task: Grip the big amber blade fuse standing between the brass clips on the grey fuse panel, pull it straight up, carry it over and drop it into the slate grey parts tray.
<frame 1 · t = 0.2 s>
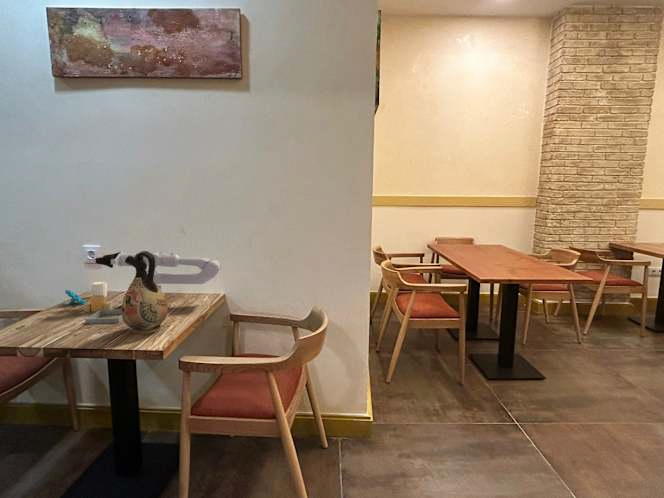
hand: (99, 259, 175), 21 cm above the table, tool horizontal, fingers open, 7 cm apart
parts tray: (109, 320, 160), on the table
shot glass: (100, 297, 194), on the table
fuse panel: (98, 311, 170), on the table
gear: (76, 306, 179), on the table
ceramic jug: (147, 331, 148), on the table
fuse: (98, 309, 170), point 1 cm above the table, touching fuse panel
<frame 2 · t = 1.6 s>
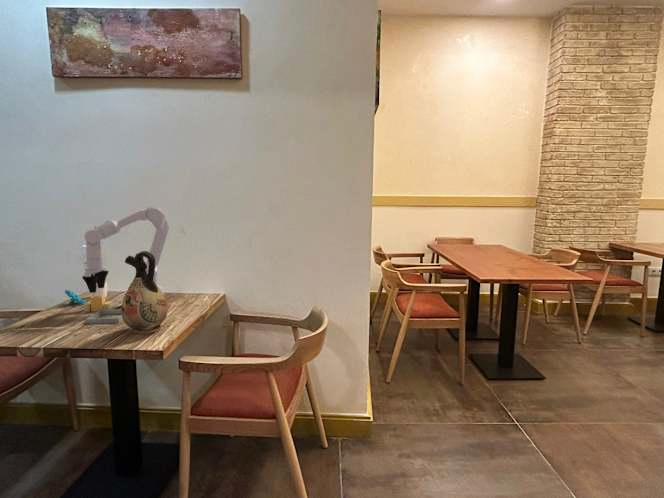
hand: (97, 290, 169), 9 cm above the table, tool pointing down, fingers open, 7 cm apart
nothing on the table moved.
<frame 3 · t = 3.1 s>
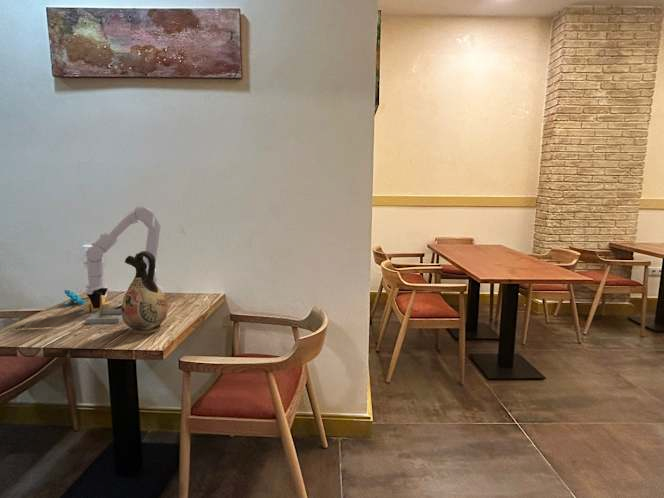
hand: (98, 306, 170), 2 cm above the table, tool pointing down, fingers closed on fuse, 3 cm apart
fuse: (98, 309, 170), point 1 cm above the table, touching fuse panel, gripper
everything else where it was.
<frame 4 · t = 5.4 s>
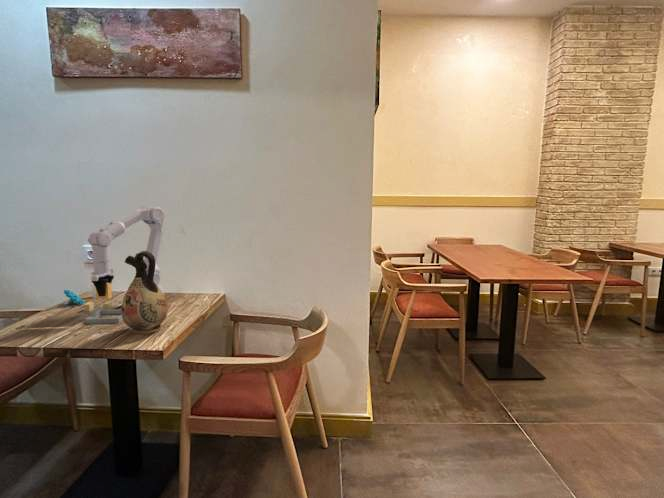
hand: (104, 294, 161), 9 cm above the table, tool pointing down, fingers closed on fuse, 3 cm apart
fuse: (104, 298, 162), point 8 cm above the table, touching gripper
everything else where it was.
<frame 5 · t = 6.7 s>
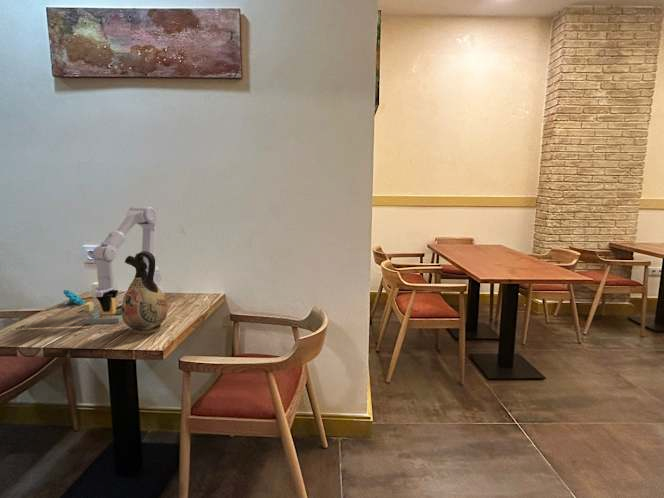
hand: (108, 310, 159), 4 cm above the table, tool pointing down, fingers closed on fuse, 3 cm apart
fuse: (108, 313, 159), point 3 cm above the table, touching gripper
everything else where it was.
when the fingers open (4 cm above the table, at t = 7.6 s): fuse drops 1 cm, resting on parts tray.
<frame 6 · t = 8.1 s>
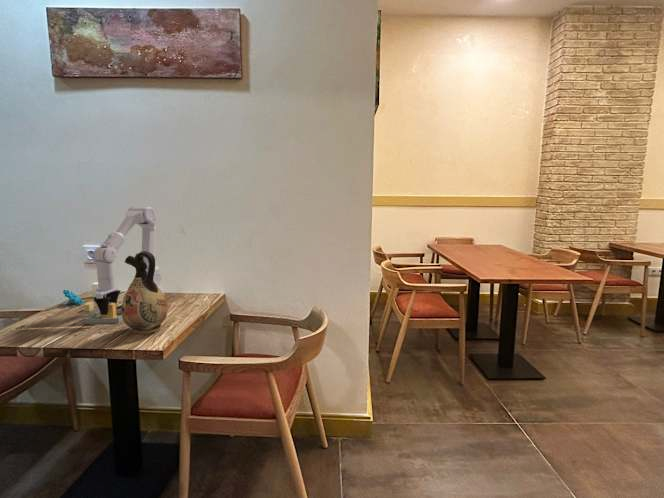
hand: (108, 311, 159), 4 cm above the table, tool pointing down, fingers open, 7 cm apart
fuse: (109, 318, 160), point 1 cm above the table, touching parts tray
everything else where it was.
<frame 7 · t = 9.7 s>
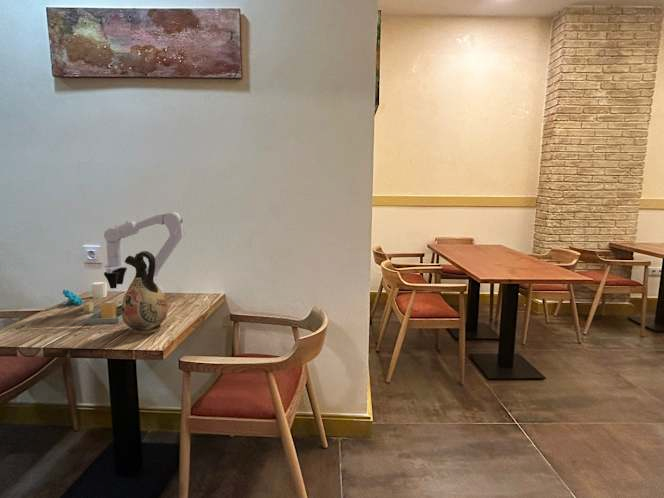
hand: (116, 286, 176), 9 cm above the table, tool pointing down, fingers open, 7 cm apart
nothing on the table moved.
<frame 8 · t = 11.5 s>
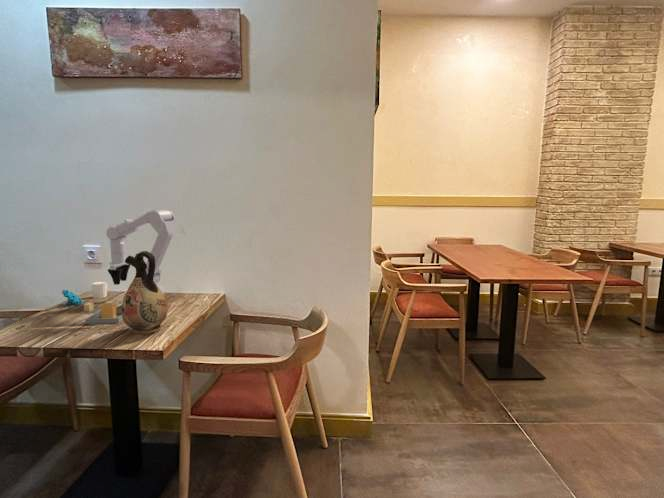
hand: (120, 282, 183), 9 cm above the table, tool pointing down, fingers open, 7 cm apart
at the end: fuse inside the target area on the parts tray (0.1 cm from its centre), point 0.6 cm above the parts tray's base; the gripper is holding nothing; fuse moved 14.9 cm from its start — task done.
